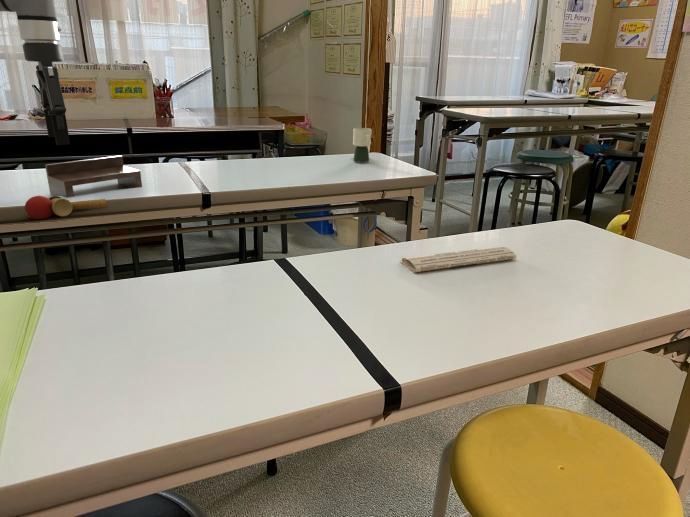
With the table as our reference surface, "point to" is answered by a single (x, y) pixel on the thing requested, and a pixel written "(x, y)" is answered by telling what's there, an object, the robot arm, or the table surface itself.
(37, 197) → the kendama
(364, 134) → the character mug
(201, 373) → the table surface
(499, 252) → the newspaper
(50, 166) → the shelf
